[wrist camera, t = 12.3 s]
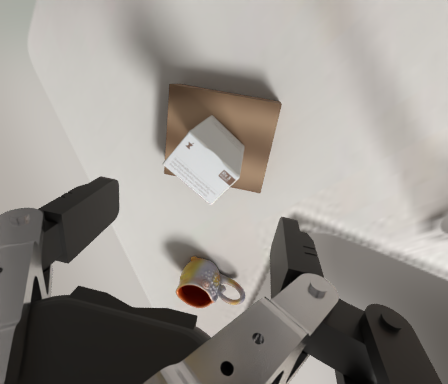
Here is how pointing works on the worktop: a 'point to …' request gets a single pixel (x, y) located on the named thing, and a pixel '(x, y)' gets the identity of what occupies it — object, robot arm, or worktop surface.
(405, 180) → the worktop surface
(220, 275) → the mug
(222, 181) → the skincare box
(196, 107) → the base
